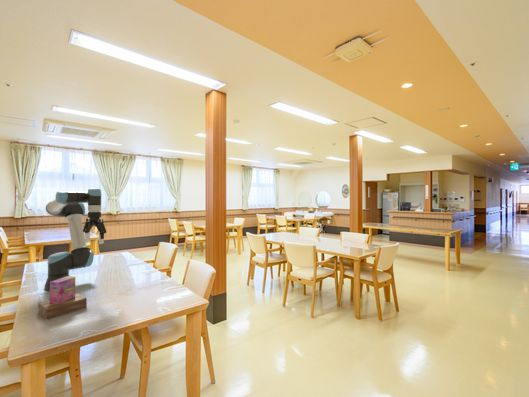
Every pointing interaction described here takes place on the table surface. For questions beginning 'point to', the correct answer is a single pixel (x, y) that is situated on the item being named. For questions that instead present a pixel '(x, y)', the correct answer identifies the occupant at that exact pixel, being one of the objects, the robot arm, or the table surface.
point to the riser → (62, 307)
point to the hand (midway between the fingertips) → (94, 243)
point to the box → (62, 289)
